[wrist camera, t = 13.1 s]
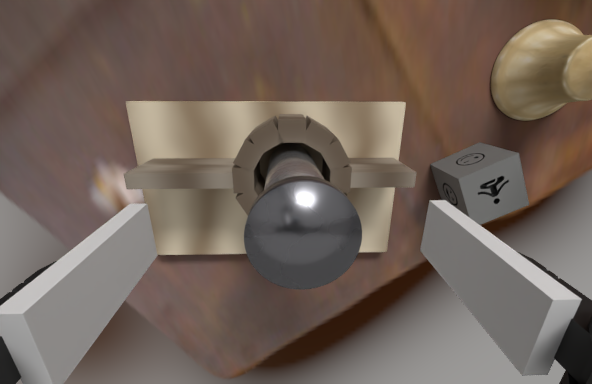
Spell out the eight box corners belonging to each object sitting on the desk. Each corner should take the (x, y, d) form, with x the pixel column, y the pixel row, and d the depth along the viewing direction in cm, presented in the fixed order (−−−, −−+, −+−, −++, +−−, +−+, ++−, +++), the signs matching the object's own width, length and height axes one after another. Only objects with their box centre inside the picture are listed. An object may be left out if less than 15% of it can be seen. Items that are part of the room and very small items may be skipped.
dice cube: (479, 142, 28) (518, 153, 23) (489, 186, 29) (529, 204, 24) (429, 164, 28) (458, 179, 23) (443, 205, 30) (472, 227, 25)
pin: (264, 190, 27) (247, 291, 13) (262, 137, 25) (240, 182, 11) (317, 190, 27) (358, 287, 13) (318, 137, 26) (366, 180, 11)
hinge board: (159, 248, 30) (129, 286, 24) (132, 101, 25) (86, 104, 19) (382, 246, 31) (405, 282, 25) (400, 101, 26) (433, 105, 20)
